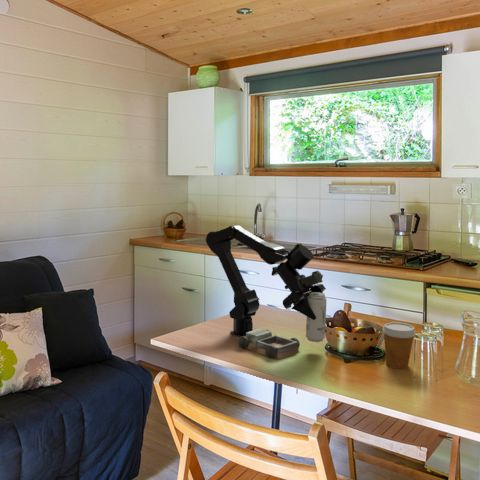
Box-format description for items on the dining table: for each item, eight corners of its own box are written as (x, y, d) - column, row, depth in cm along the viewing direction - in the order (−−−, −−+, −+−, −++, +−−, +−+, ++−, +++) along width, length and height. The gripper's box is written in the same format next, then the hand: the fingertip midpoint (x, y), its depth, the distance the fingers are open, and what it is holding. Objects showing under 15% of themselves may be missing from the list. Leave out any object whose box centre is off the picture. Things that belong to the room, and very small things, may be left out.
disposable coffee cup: (419, 370, 157) (421, 330, 156) (388, 371, 156) (391, 331, 154) (404, 358, 167) (406, 321, 165) (375, 360, 165) (377, 322, 164)
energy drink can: (321, 343, 167) (323, 297, 165) (303, 340, 170) (305, 294, 168) (326, 338, 173) (329, 293, 171) (309, 335, 175) (311, 290, 173)
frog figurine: (388, 350, 175) (390, 329, 174) (369, 351, 173) (370, 330, 172) (380, 344, 180) (381, 324, 180) (361, 345, 179) (362, 325, 178)
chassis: (236, 346, 176) (237, 333, 175) (262, 338, 184) (262, 325, 184) (275, 359, 164) (275, 345, 163) (300, 350, 172) (301, 337, 172)
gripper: (292, 267, 163) (322, 308, 158) (321, 259, 178) (350, 297, 173) (270, 288, 169) (298, 329, 164) (300, 279, 184) (327, 316, 179)
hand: (320, 317), depth 170 cm, fingers closed on energy drink can, 6 cm apart
